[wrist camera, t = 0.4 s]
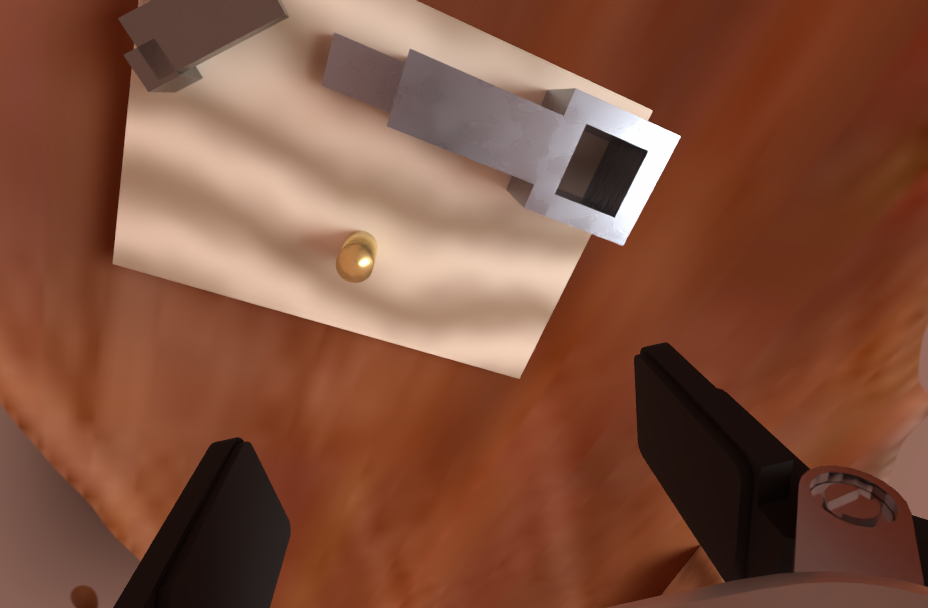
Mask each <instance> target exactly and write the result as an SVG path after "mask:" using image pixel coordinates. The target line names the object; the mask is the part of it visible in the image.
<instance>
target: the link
mask: <svg viewBox="0 0 928 608" xmlns="http://www.w3.org/2000/svg"><path fill="white" fill-rule="evenodd" d="M322 86H324V87H327V88H329V89H332V90H334V91H337V92H339V93H342V94H344V95H347V96H349V97H352V98H354V99H357V100H359V101H362V102H364V103H367V104H369V105H372V106H374V107H377V108H379V109H382V110H384V111H387V112H389V113H390V117H389V120H388V123H387V127H390V128H392V129H395V130H397V131H400V132H402V133H405V134H407V135H410V136H413V137H415V138H418V139H420V140H423V141H425V142H428V143H430V144H433V145H435V146H438V147H441V148H443V149H446V150H448V151H451V152H453V153H456V154H458V155H461V156H463V157H466V158H468V159H471V160H474V161H476V162H479V163H481V164H484V165H486V166H489V167H491V168H494V169H496V170H499V171H502V172H504V173H507V174H509V175H512V177H511V179H510V182H509V184H508V187H507V189H506V190H507V191H508V192H509V193H510V194H511V195H512V196H513V197H514V198H515V199H516V200H517V201H518V202H519V204H520V205H521V206H522V207H523V208H525V209H527V210H530V211H533V212H535V213H538V214H541V215H543V216H546V217H549V218H551V219H554V220H556V221H559V222H562V223H564V224H567V225H570V226H572V227H575V228H578V229H580V230H583V231H586V232H588V233H591V234H594V235H596V236H599V237H601V238H604V239H607V240H609V241H612V242H615V243H617V244H620V245H624V243H625V241H626V239H627V237H628V235H629V233H630V231H631V230H632V228H633V226H634V224H635V222H636V220H637V218H638V216H639V214H640V213H641V211H642V209H643V207H644V205H645V203H646V201H647V199H648V197H649V196H650V194H651V192H652V190H653V188H654V186H655V184H656V182H657V180H658V179H659V177H660V175H661V173H662V171H663V169H664V167H665V165H666V163H667V162H668V160H669V158H670V156H671V154H672V152H673V150H674V148H675V146H676V145H677V143H678V141H679V139H680V137H681V136H679V135H677V134H675V133H673V132H670V131H668V130H666V129H664V128H662V127H659V126H657V125H655V124H653V123H651V122H649V121H646V120H644V119H642V118H640V117H638V116H635V115H633V114H631V113H629V112H627V111H624V110H622V109H620V108H618V107H616V106H614V105H611V104H609V103H607V102H605V101H603V100H600V99H598V98H596V97H594V96H592V95H590V94H587V93H585V92H583V91H581V90H579V89H576V88H571V89H550V90H547V92H546V94H545V97H544V99H543V102H542V104H541V106H540V105H538V104H536V103H533V102H531V101H529V100H526V99H524V98H522V97H520V96H517V95H515V94H513V93H511V92H508V91H506V90H504V89H501V88H499V87H497V86H495V85H492V84H490V83H488V82H485V81H483V80H481V79H479V78H476V77H474V76H472V75H469V74H467V73H465V72H463V71H460V70H458V69H456V68H454V67H451V66H449V65H447V64H444V63H442V62H440V61H438V60H435V59H433V58H431V57H428V56H426V55H424V54H422V53H419V52H417V51H415V50H412V49H410V50H409V53H408V56H407V60H406V63H405V62H402V61H400V60H398V59H395V58H393V57H391V56H388V55H386V54H384V53H381V52H379V51H377V50H374V49H372V48H370V47H367V46H365V45H363V44H361V43H358V42H356V41H354V40H351V39H349V38H347V37H344V36H342V35H340V34H337V33H335V32H334V35H333V39H332V43H331V48H330V52H329V56H328V60H327V64H326V68H325V73H324V77H323V81H322ZM583 130H584V131H586V132H588V133H590V134H593V135H595V136H597V137H600V138H602V139H604V140H607V141H609V144H608V146H607V148H606V150H605V152H604V154H603V157H602V159H601V161H600V163H599V165H598V167H597V169H596V171H595V173H594V175H593V178H592V180H591V182H590V184H589V186H588V188H587V190H586V192H585V194H584V196H583V198H581V197H578V196H576V195H573V194H571V193H568V192H566V191H563V190H561V189H558V186H559V183H560V181H561V179H562V177H563V175H564V172H565V170H566V168H567V166H568V164H569V161H570V159H571V157H572V155H573V152H574V150H575V148H576V146H577V144H578V141H579V139H580V137H581V135H582V133H583Z"/></svg>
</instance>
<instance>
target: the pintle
mask: <svg viewBox="0 0 928 608" xmlns="http://www.w3.org/2000/svg"><path fill="white" fill-rule="evenodd" d="M377 251H378V244H377V241H376V239H375V238H374V236H373V235H371V234H370V233H368V232H366V231H355V232H353V233H351V234H350V235H349V236H348V237H347V238H346V240H345V242H344V244H343V246H342V248H341V251H340V253H339V255H338V257H337V259H336V270H337V272H338V274H339V275H340V276H341V277H342V278H343V279H344V280H346V281H348V282H352V283H359V282H363V281H365V280H366V279H368V278H369V277H370V275H371V273H372V271H373V267H374V263H375V259H376V255H377Z"/></svg>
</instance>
